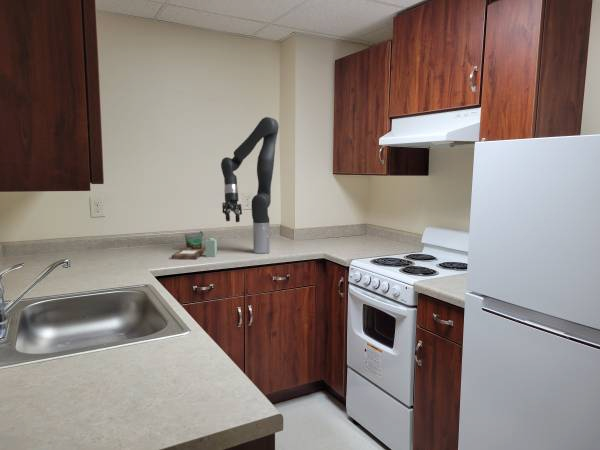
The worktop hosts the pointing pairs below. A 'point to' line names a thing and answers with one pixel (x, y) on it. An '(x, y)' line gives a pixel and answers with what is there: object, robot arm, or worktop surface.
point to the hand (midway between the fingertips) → (232, 221)
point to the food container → (194, 240)
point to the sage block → (211, 247)
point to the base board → (188, 254)
